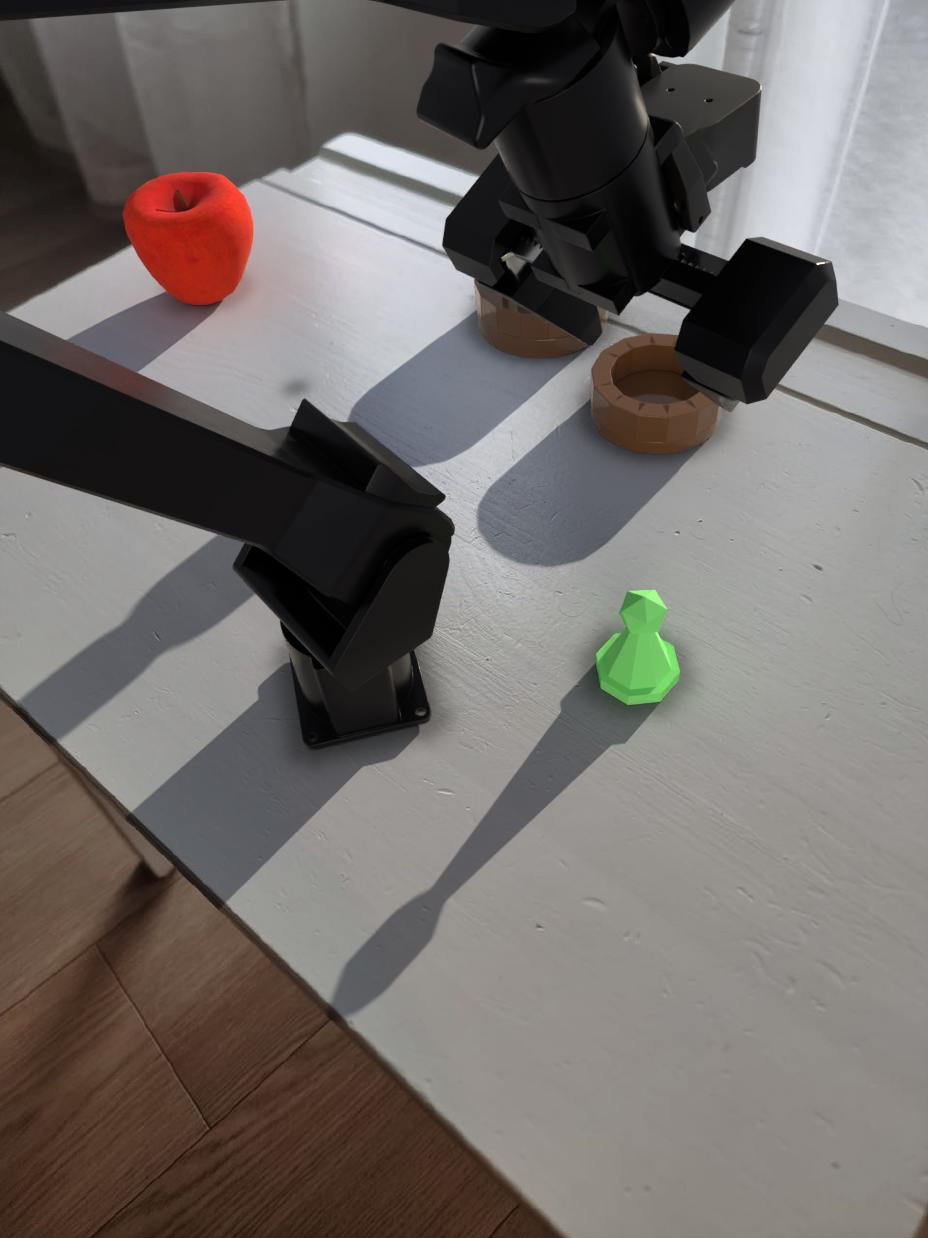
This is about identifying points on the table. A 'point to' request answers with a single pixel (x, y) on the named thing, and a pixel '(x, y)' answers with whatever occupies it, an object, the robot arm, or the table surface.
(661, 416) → the small stand
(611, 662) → the game piece
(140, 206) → the apple
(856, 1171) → the table surface
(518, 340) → the stand
